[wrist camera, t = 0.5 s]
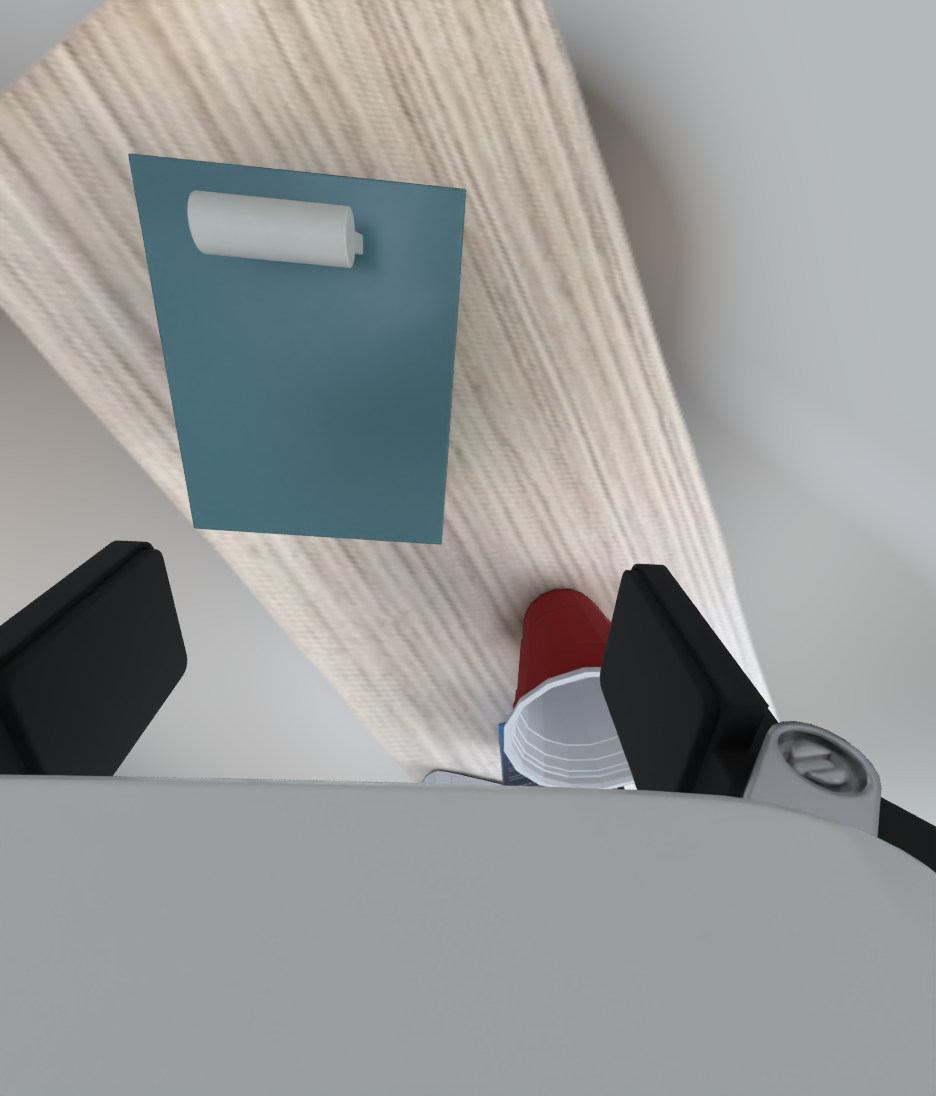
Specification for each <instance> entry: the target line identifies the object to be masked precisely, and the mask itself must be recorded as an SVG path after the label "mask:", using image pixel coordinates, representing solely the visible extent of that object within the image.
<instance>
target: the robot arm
mask: <svg viewBox="0 0 936 1096" xmlns="http://www.w3.org/2000/svg"><path fill="white" fill-rule="evenodd" d="M186 666H187V654H186V650H185V646H184V642H183V638H182V634H181V629H180V626H179V622H178V617H177V613H176V609H175V605H174V600H173V596H172V592H171V588H170V584H169V580H168V576H167V572H166V567H165V563H164V559H163V556H162V554H161V552H160V551H159V550H156V549H154V548H153V546H152V545H151V544H150V543H148V542H137V541H114V542H111V543H110V544H109V545H107V546H106V547H105V548H103V549H102V550H101V551H99V552H98V553H97V554H95V555H94V556H93V557H91V558H90V559H89V560H87V561H86V562H85V563H83V564H82V565H81V566H79V567H78V568H77V569H75V570H74V571H73V572H72V573H70V574H69V575H67V576H66V577H65V578H63V579H62V580H61V581H59V582H58V583H57V584H56V585H54V586H53V587H51V588H50V589H49V590H47V591H46V592H45V593H43V594H42V595H41V596H39V597H38V598H37V599H35V600H34V601H33V602H31V603H30V604H29V605H27V606H26V607H25V608H23V609H22V610H21V611H20V612H18V613H17V614H15V615H14V616H13V617H11V618H10V619H9V620H8V621H6V622H5V623H3V624H2V625H1V626H0V1096H936V826H934V825H932V824H930V823H928V822H926V821H924V820H923V819H921V818H919V817H917V816H915V815H913V814H911V813H910V812H908V811H906V810H904V809H902V808H900V807H898V806H897V805H895V804H893V803H891V802H889V801H887V800H885V799H884V798H882V797H881V783H880V778H879V775H878V773H877V772H876V770H875V768H874V766H873V765H872V763H871V762H870V761H869V760H868V759H867V758H866V757H865V756H864V755H863V754H862V753H861V752H860V751H859V750H858V749H857V748H855V747H854V746H853V745H851V744H850V743H849V742H847V741H846V740H845V739H843V738H841V737H839V736H837V735H835V734H834V733H832V732H830V731H828V730H825V729H823V728H820V727H818V726H815V725H812V724H808V723H802V722H797V721H789V722H788V721H787V722H780V723H778V721H777V720H776V719H775V717H774V716H773V715H772V713H771V712H770V711H769V709H768V706H769V705H768V704H767V703H766V701H765V700H764V699H763V697H762V696H761V695H760V693H759V692H758V690H757V689H756V688H755V686H754V685H753V684H752V682H751V681H750V680H749V678H748V677H747V676H746V674H745V673H744V672H743V670H742V669H741V668H740V666H739V665H738V663H737V662H736V661H735V659H734V658H733V657H732V655H731V654H730V653H729V651H728V650H727V649H726V647H725V646H724V645H723V643H722V642H721V640H720V639H719V638H718V636H717V635H716V634H715V632H714V631H713V630H712V628H711V627H710V626H709V624H708V623H707V622H706V620H705V619H704V618H703V616H702V615H701V613H700V612H699V611H698V609H697V608H696V607H695V605H694V604H693V603H692V601H691V600H690V599H689V597H688V596H687V595H686V593H685V592H684V590H683V589H682V588H681V586H680V585H679V584H678V582H677V581H676V580H675V578H674V577H673V576H672V574H671V573H670V572H669V570H668V569H667V567H665V566H664V565H653V564H635V565H634V566H633V567H632V569H631V570H626V571H624V573H623V575H622V579H621V583H620V587H619V592H618V596H617V600H616V605H615V609H614V613H613V618H612V622H611V626H610V631H609V635H608V639H607V644H606V648H605V652H604V657H603V661H602V665H601V669H600V686H601V690H602V692H603V695H604V698H605V701H606V704H607V706H608V709H609V712H610V715H611V718H612V720H613V723H614V726H615V729H616V732H617V734H618V737H619V740H620V743H621V746H622V748H623V751H624V754H625V757H626V760H627V762H628V765H629V768H630V771H631V774H632V776H633V779H634V782H635V785H636V788H637V790H620V789H593V788H569V787H535V786H502V785H468V784H435V783H396V782H357V781H355V782H354V781H317V780H316V781H315V780H273V779H230V778H229V779H228V778H226V779H225V778H176V777H121V776H113V775H114V773H115V772H116V771H117V769H118V768H119V766H120V765H121V763H122V762H123V761H124V759H125V758H126V756H127V755H128V753H129V752H130V751H131V749H132V748H133V746H134V745H135V743H136V742H137V740H138V739H139V737H140V736H141V735H142V733H143V732H144V731H145V729H146V727H147V726H148V725H149V723H150V722H151V720H152V719H153V718H154V716H155V715H156V713H157V712H158V710H159V709H160V708H161V706H162V705H163V703H164V702H165V700H166V699H167V698H168V696H169V695H170V693H171V692H172V690H173V689H174V688H175V686H176V685H177V683H178V682H179V680H180V679H181V677H182V676H183V674H184V672H185V670H186Z"/></svg>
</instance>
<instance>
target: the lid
mask: <svg viewBox="0 0 936 1096" xmlns="http://www.w3.org/2000/svg"><path fill="white" fill-rule="evenodd" d="M129 161H130V167H131V173H132V178H133V184H134V190H135V195H136V201H137V207H138V212H139V218H140V224H141V229H142V235H143V241H144V246H145V252H146V258H147V263H148V269H149V275H150V281H151V286H152V292H153V298H154V303H155V309H156V315H157V320H158V326H159V332H160V337H161V343H162V349H163V354H164V360H165V366H166V371H167V377H168V383H169V389H170V394H171V400H172V406H173V411H174V417H175V423H176V428H177V434H178V440H179V445H180V451H181V457H182V462H183V468H184V474H185V479H186V485H187V491H188V496H189V502H190V508H191V514H192V519H193V525H194V528H196V529H211V530H227V531H242V532H257V533H272V534H288V535H303V536H318V537H333V538H349V539H364V540H379V541H394V542H410V543H425V544H440V545H441V544H442V535H443V520H444V506H445V491H446V477H447V462H448V448H449V433H450V419H451V404H452V389H453V375H454V360H455V346H456V331H457V317H458V302H459V287H460V273H461V258H462V244H463V229H464V215H465V200H466V190H465V189H460V188H450V187H441V186H431V185H422V184H412V183H403V182H394V181H384V180H375V179H365V178H356V177H347V176H337V175H328V174H318V173H309V172H299V171H290V170H281V169H271V168H262V167H252V166H243V165H233V164H224V163H215V162H205V161H196V160H186V159H177V158H168V157H158V156H149V155H139V154H129Z"/></svg>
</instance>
